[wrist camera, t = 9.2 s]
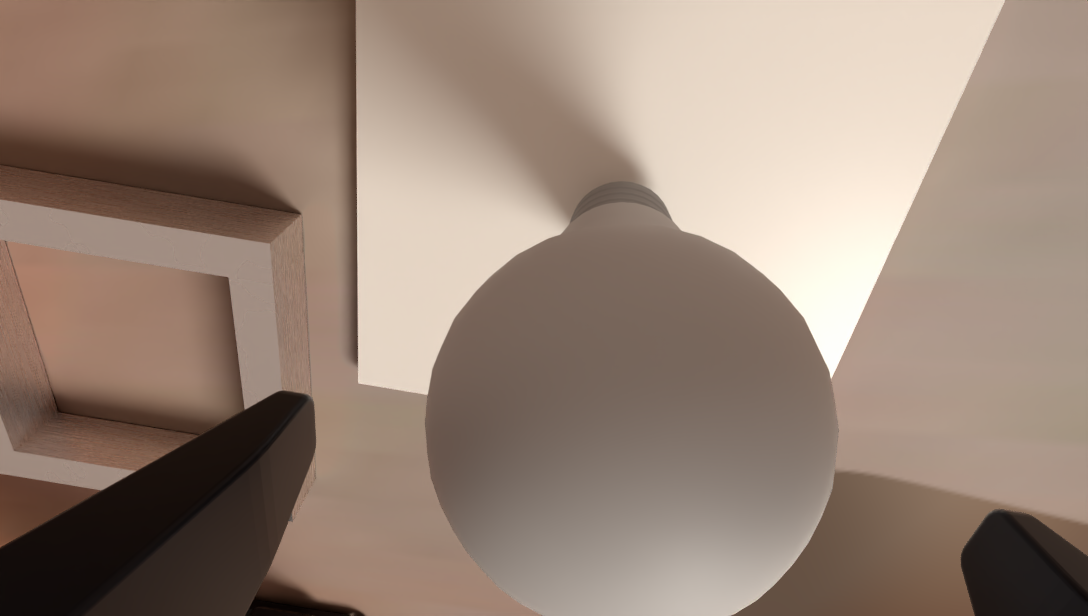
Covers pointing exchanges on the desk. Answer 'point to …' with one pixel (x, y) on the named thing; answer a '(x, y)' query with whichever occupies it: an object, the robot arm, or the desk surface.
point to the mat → (642, 141)
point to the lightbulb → (631, 420)
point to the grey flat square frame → (158, 239)
